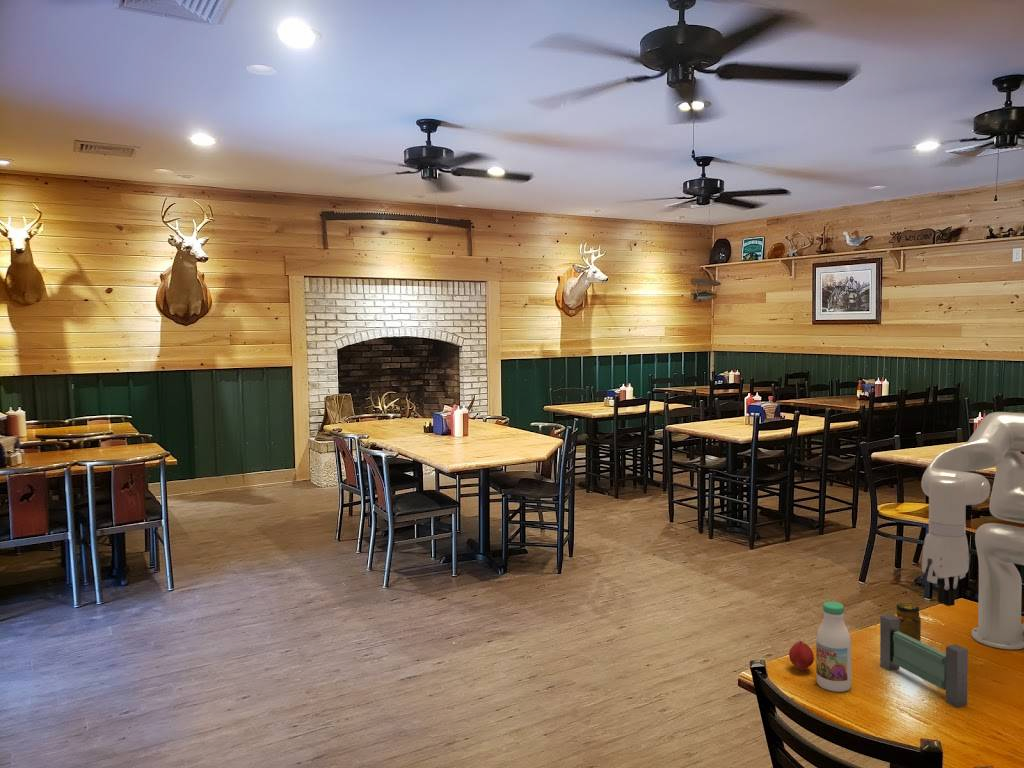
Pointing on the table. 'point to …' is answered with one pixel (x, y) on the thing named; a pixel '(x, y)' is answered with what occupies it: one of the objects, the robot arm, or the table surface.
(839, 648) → the milk bottle
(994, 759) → the table surface
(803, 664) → the onion
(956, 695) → the gate posts
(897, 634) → the gate
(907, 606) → the condiment
